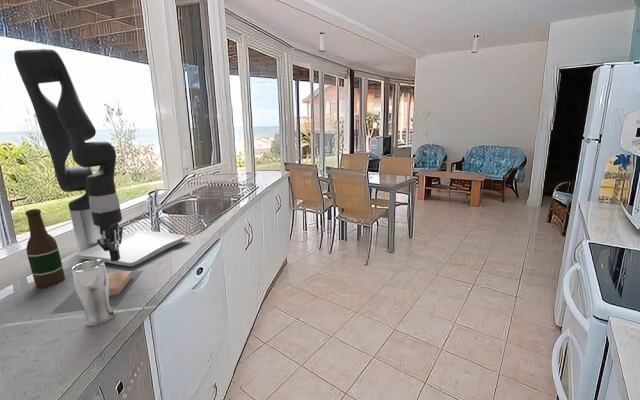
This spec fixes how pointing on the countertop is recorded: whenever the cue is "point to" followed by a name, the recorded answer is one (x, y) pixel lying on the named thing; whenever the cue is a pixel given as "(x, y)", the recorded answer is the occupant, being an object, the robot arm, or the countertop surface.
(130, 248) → the square plate
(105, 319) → the beer glass
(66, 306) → the mat
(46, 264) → the beer bottle
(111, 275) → the tile
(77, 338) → the countertop surface
